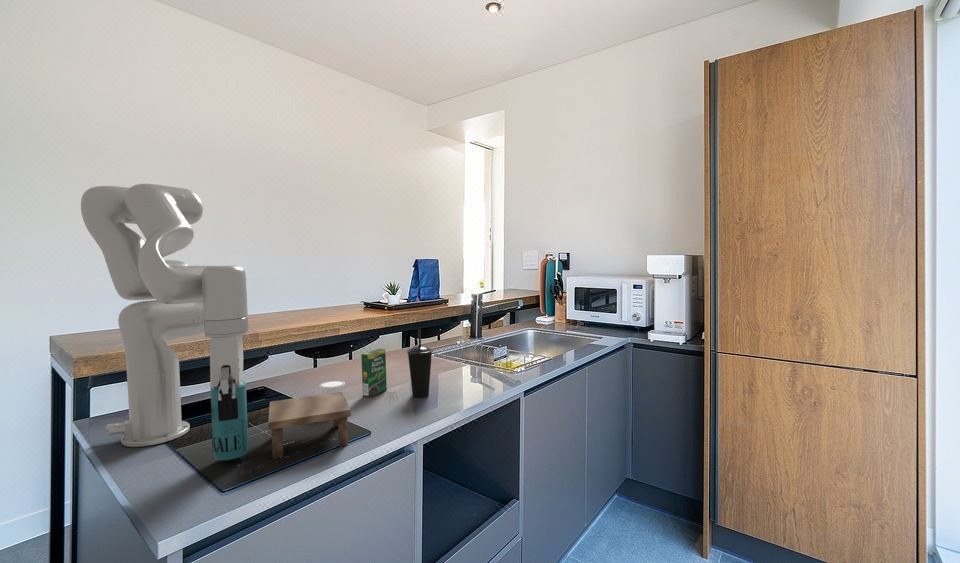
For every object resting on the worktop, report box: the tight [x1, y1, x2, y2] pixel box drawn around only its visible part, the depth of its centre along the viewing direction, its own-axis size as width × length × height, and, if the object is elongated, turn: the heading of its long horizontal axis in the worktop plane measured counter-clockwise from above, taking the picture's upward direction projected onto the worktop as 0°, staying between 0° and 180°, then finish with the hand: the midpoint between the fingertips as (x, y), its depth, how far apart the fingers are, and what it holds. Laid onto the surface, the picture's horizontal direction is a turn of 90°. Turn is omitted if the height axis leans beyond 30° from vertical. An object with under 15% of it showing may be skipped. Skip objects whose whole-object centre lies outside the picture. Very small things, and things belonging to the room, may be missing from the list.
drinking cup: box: [406, 328, 434, 399], centre depth 124 cm, size 8×8×20 cm
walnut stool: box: [267, 392, 352, 460], centre depth 93 cm, size 16×14×8 cm
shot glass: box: [318, 380, 346, 398], centre depth 113 cm, size 7×7×7 cm
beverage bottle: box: [210, 368, 250, 461], centre depth 84 cm, size 6×7×20 cm
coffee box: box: [361, 348, 388, 398], centre depth 126 cm, size 8×3×13 cm, turn 150°
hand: (231, 411), depth 83 cm, fingers open, 9 cm apart
